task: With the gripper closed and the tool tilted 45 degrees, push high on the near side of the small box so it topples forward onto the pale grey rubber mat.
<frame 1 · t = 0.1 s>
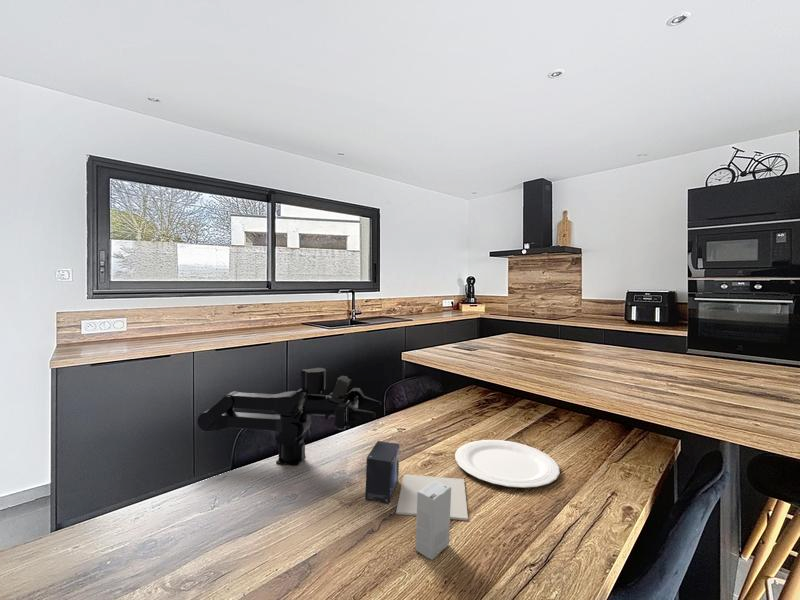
hand: (378, 409, 106), 17 cm above the table, tool horizontal, fingers open, 9 cm apart
mat: (432, 496, 93), on the table
small box: (382, 491, 95), on the table
plate: (505, 466, 110), on the table
skincare box: (432, 549, 74), on the table
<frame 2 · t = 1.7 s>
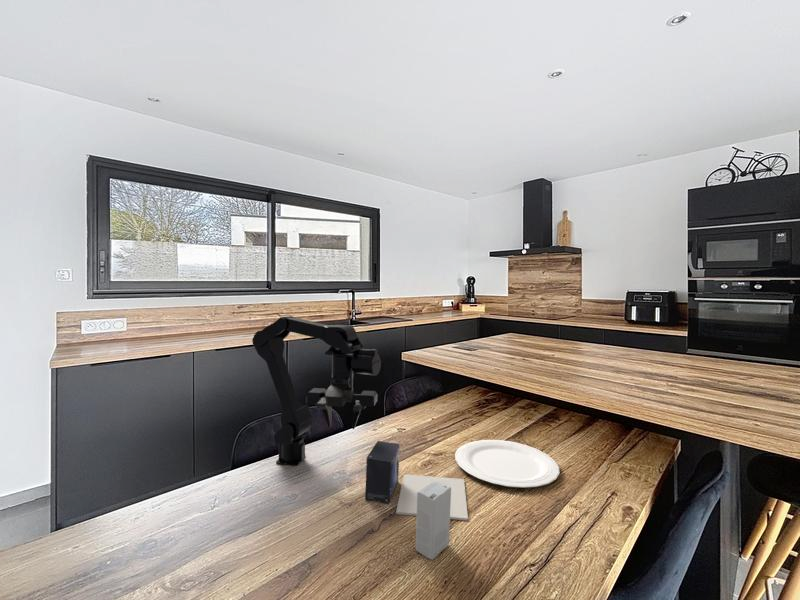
hand: (341, 428, 104), 12 cm above the table, tool pointing down, fingers open, 6 cm apart
nothing on the table moved.
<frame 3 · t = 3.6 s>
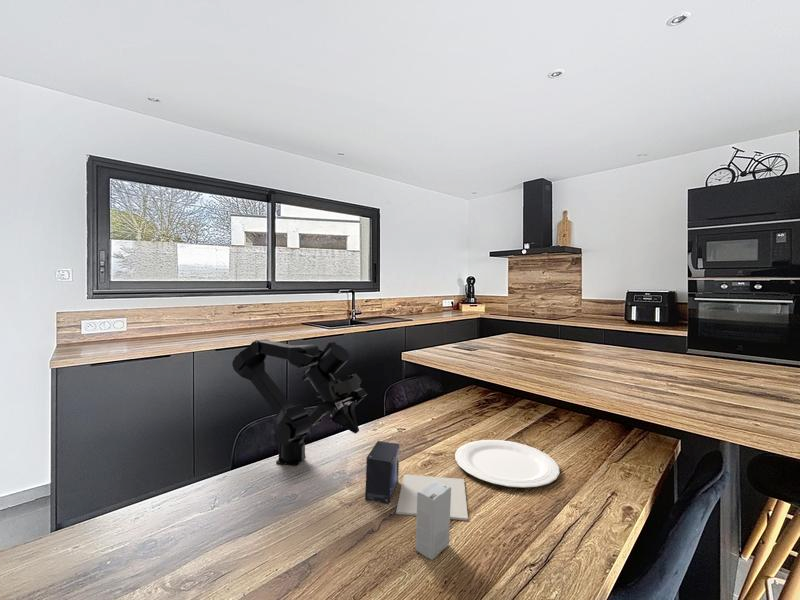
hand: (357, 432, 98), 13 cm above the table, tool tilted 45°, fingers closed
nothing on the table moved.
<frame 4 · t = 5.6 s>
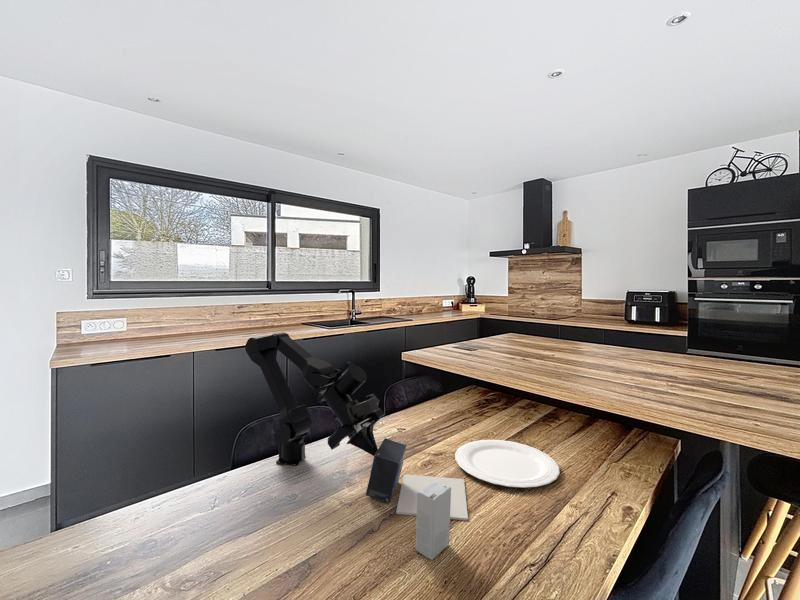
hand: (377, 455, 95), 9 cm above the table, tool tilted 45°, fingers closed
small box: (382, 489, 95), on the table, touching gripper
everything else where it was.
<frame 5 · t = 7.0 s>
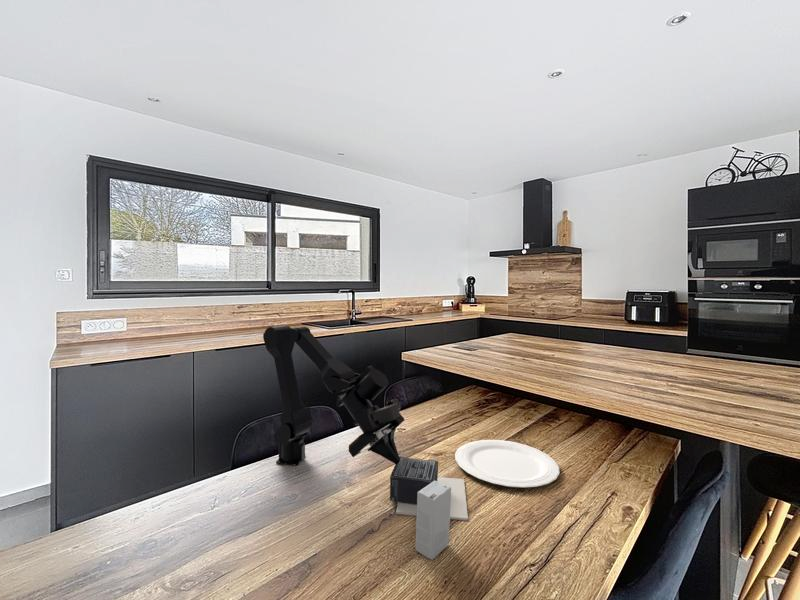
hand: (398, 462, 92), 8 cm above the table, tool tilted 45°, fingers closed
small box: (393, 477, 94), point 4 cm above the table, touching mat
everything else where it was.
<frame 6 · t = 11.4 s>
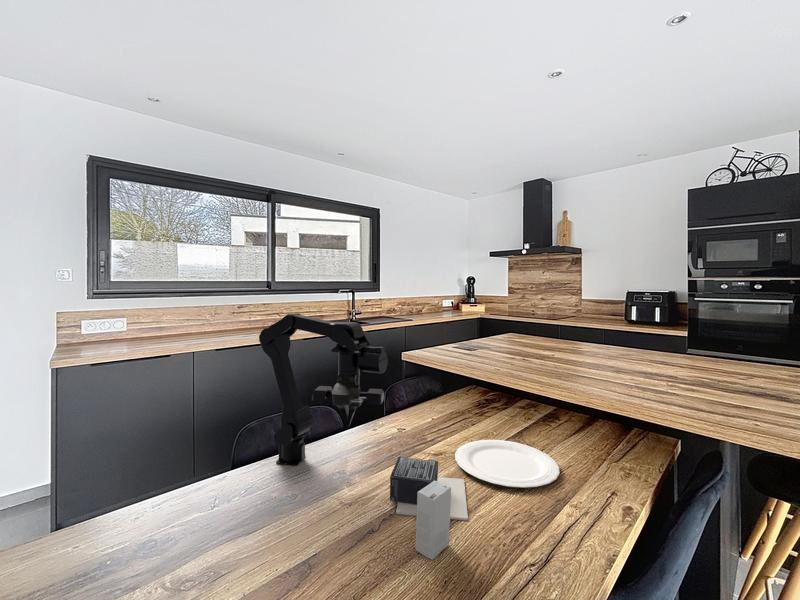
hand: (348, 426, 102), 13 cm above the table, tool pointing down, fingers closed
nothing on the table moved.
at the end: small box tilted 89°; small box inside the target area (6.4 cm from its centre), point 3.6 cm above the table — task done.
